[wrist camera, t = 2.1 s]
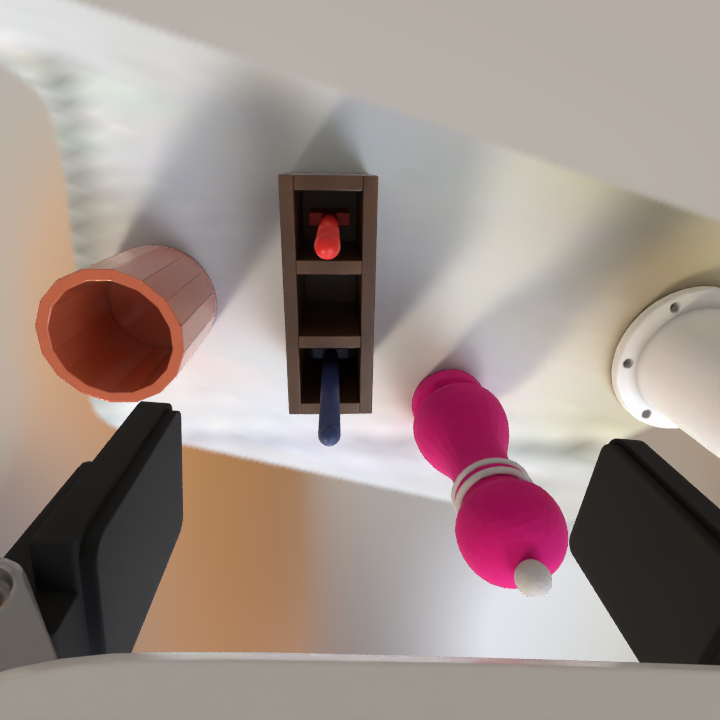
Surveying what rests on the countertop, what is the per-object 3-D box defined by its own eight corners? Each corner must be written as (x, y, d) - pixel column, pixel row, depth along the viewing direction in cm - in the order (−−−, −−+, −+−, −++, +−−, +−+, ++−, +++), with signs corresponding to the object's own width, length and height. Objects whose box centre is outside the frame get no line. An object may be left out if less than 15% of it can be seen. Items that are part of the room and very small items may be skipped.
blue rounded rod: (347, 328, 38) (356, 430, 23) (347, 341, 38) (355, 450, 24) (314, 328, 37) (302, 431, 23) (314, 341, 38) (302, 450, 23)
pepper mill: (425, 450, 43) (494, 664, 25) (392, 385, 41) (441, 571, 22) (500, 417, 42) (630, 614, 24) (471, 349, 40) (592, 510, 21)
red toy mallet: (348, 205, 34) (358, 235, 20) (348, 221, 35) (358, 262, 20) (311, 205, 34) (294, 234, 20) (311, 221, 34) (296, 261, 20)
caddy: (367, 173, 34) (378, 175, 26) (363, 362, 40) (371, 413, 31) (291, 172, 34) (278, 174, 26) (298, 363, 39) (289, 414, 31)
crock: (211, 244, 35) (173, 269, 27) (221, 350, 39) (191, 401, 30) (94, 244, 35) (19, 268, 27) (114, 351, 38) (53, 403, 30)
